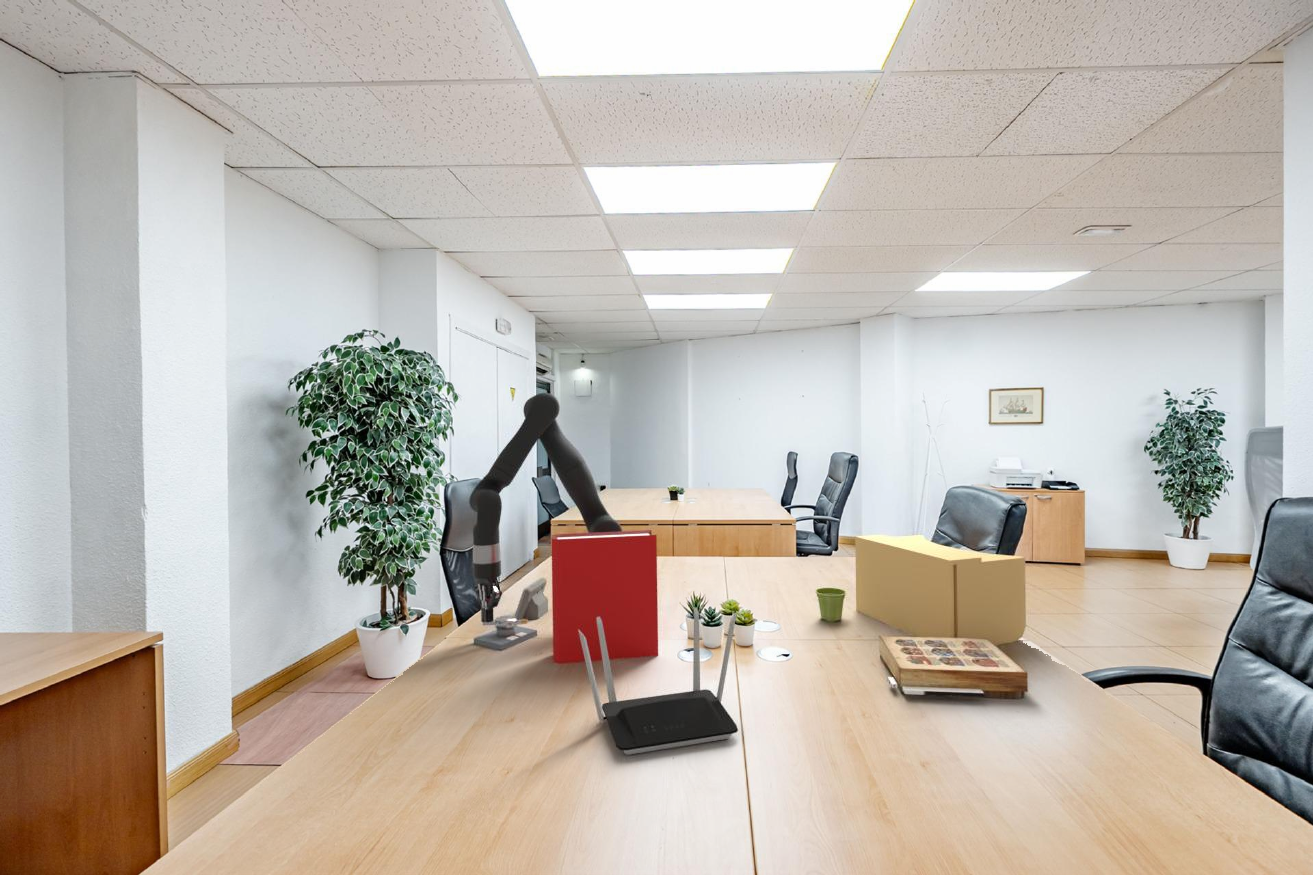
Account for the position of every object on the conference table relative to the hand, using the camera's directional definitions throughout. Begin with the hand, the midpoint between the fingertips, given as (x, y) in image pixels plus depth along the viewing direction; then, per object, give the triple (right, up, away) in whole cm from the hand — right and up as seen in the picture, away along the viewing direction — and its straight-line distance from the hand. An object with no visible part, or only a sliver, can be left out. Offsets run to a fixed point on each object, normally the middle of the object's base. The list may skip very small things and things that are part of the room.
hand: (488, 621), depth 168 cm
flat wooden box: (+115, -6, -27) cm, 118 cm away
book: (+33, -7, -8) cm, 35 cm away
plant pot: (+102, -5, +19) cm, 104 cm away
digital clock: (+6, -7, +28) cm, 30 cm away
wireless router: (+49, -7, -46) cm, 67 cm away
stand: (+4, -7, +5) cm, 9 cm away
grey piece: (+3, -3, +5) cm, 6 cm away
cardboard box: (+131, -5, +13) cm, 132 cm away
